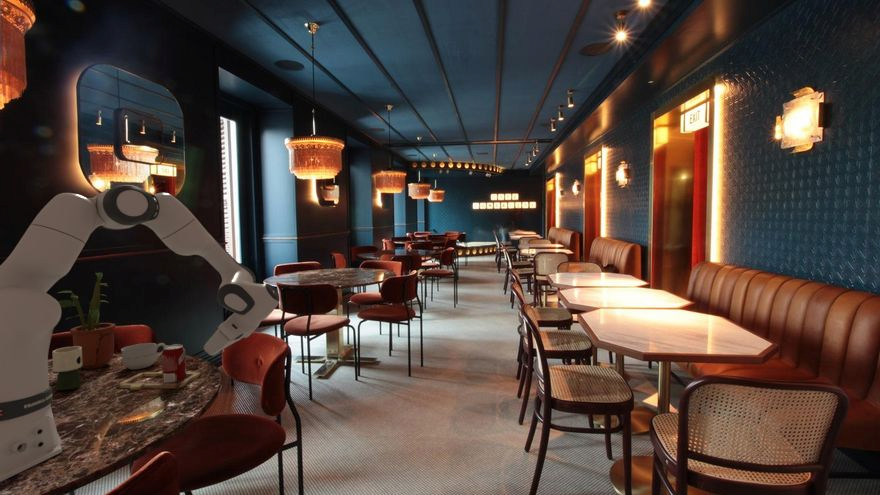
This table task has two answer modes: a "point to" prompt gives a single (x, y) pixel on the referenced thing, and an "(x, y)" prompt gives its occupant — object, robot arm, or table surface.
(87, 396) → the table surface
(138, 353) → the teacup
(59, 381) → the character mug
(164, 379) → the soda can
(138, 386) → the wooden rectangular frame
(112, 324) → the potted plant
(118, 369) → the table surface
